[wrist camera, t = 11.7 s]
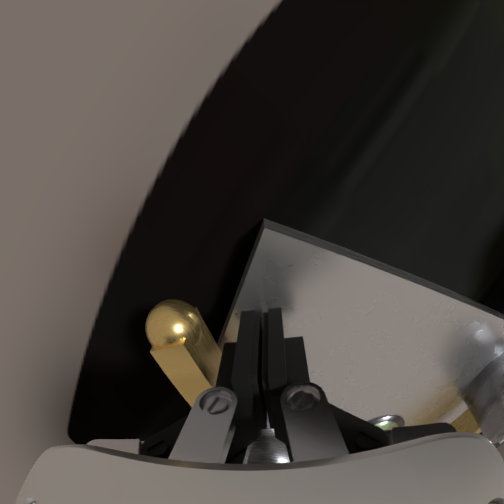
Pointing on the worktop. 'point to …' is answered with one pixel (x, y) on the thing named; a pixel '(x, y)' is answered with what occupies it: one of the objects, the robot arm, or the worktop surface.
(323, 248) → the plate
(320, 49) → the worktop surface
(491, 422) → the knob
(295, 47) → the worktop surface
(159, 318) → the knob
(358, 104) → the worktop surface
